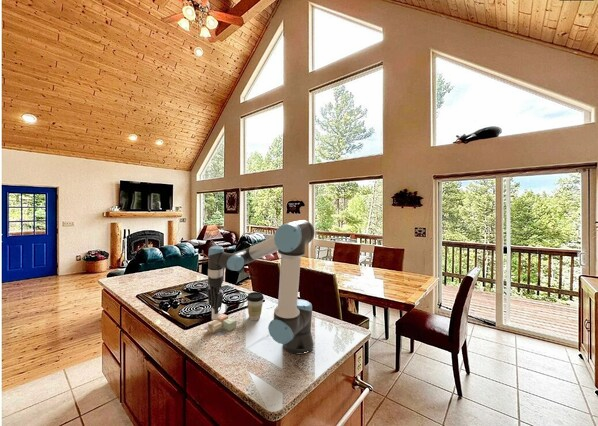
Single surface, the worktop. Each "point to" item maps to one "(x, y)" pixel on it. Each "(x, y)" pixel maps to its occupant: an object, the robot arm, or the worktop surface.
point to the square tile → (219, 331)
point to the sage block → (229, 324)
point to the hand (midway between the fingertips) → (214, 318)
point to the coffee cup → (255, 305)
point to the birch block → (215, 326)
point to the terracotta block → (222, 318)
